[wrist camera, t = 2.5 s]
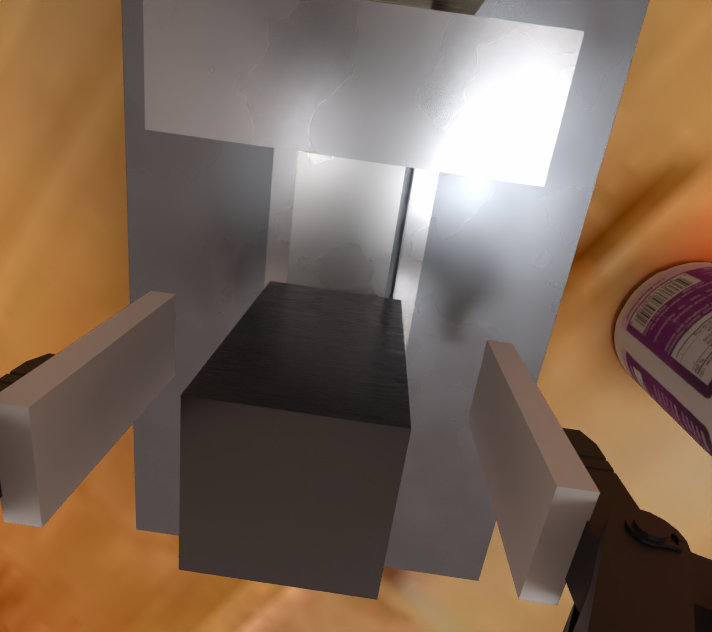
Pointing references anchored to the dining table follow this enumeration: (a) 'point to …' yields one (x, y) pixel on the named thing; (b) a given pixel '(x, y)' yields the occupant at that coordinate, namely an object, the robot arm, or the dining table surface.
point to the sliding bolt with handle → (306, 402)
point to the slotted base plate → (416, 211)
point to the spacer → (440, 5)
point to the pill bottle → (672, 344)
